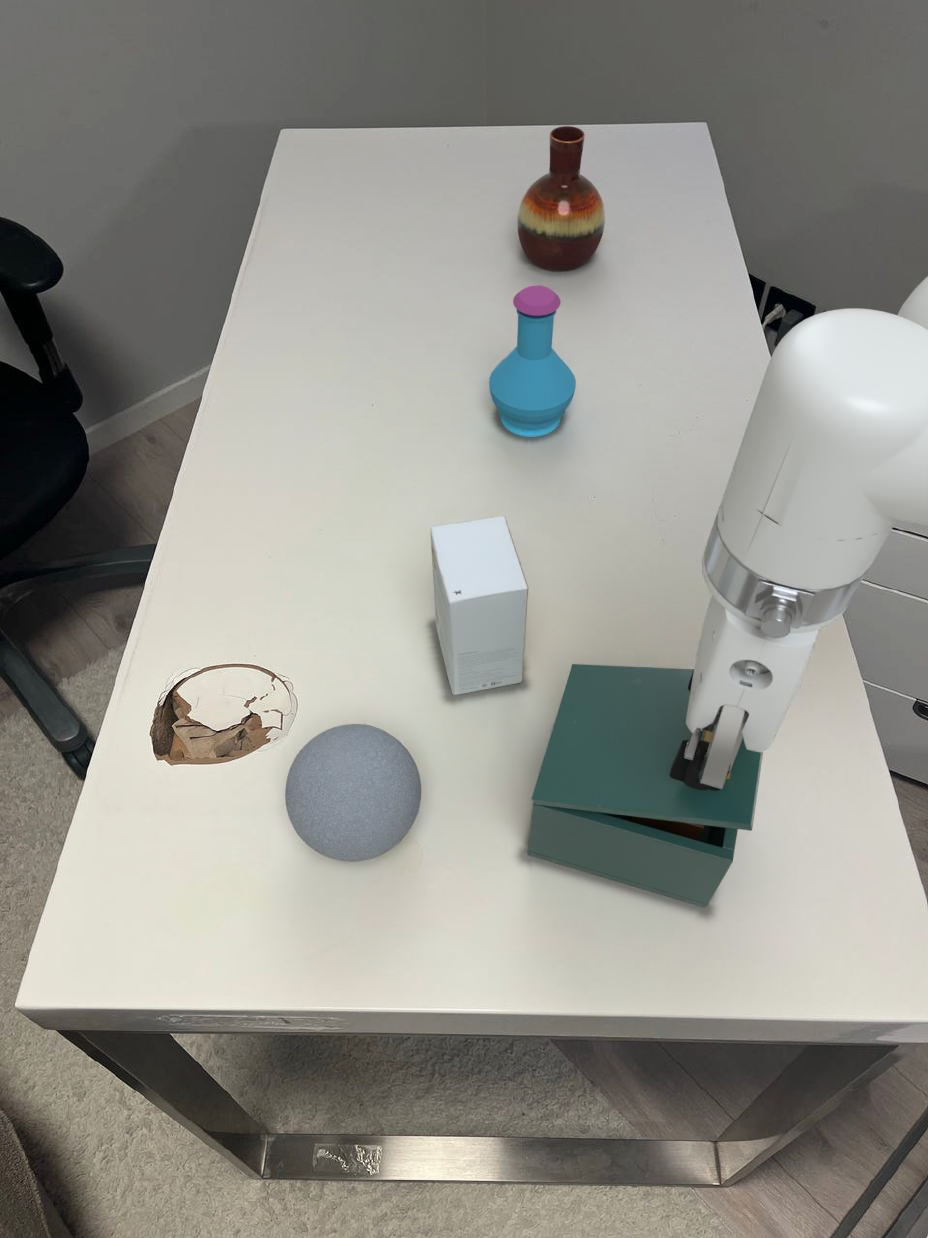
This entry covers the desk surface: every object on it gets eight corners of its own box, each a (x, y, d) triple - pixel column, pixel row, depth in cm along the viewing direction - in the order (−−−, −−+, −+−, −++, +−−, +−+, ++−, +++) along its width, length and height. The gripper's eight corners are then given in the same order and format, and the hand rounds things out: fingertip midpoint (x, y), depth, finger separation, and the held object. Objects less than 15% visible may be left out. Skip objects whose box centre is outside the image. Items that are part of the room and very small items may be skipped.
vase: (498, 253, 119) (500, 132, 106) (558, 223, 123) (567, 103, 111) (558, 289, 114) (567, 166, 101) (618, 256, 118) (634, 134, 106)
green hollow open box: (728, 772, 73) (754, 716, 66) (706, 908, 66) (732, 862, 59) (564, 728, 75) (573, 670, 68) (527, 855, 69) (532, 804, 62)
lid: (773, 679, 62) (766, 635, 58) (752, 831, 55) (742, 790, 52) (574, 670, 68) (558, 629, 65) (534, 804, 62) (513, 767, 58)
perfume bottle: (568, 388, 102) (580, 267, 90) (576, 444, 96) (589, 322, 84) (487, 390, 102) (488, 269, 90) (490, 446, 96) (491, 325, 84)
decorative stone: (447, 841, 69) (443, 782, 61) (330, 906, 67) (309, 853, 59) (388, 743, 75) (377, 677, 67) (277, 799, 72) (251, 737, 64)
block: (701, 797, 70) (714, 767, 66) (691, 855, 68) (704, 828, 64) (638, 780, 71) (647, 749, 67) (625, 837, 69) (634, 808, 65)
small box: (523, 684, 78) (530, 589, 68) (452, 697, 77) (447, 603, 67) (502, 611, 83) (505, 513, 72) (434, 623, 82) (427, 525, 72)
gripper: (850, 718, 39) (742, 874, 54) (870, 459, 49) (775, 649, 63) (679, 672, 40) (618, 836, 55) (732, 429, 50) (669, 622, 65)
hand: (703, 734), depth 59 cm, fingers closed on lid, 6 cm apart
